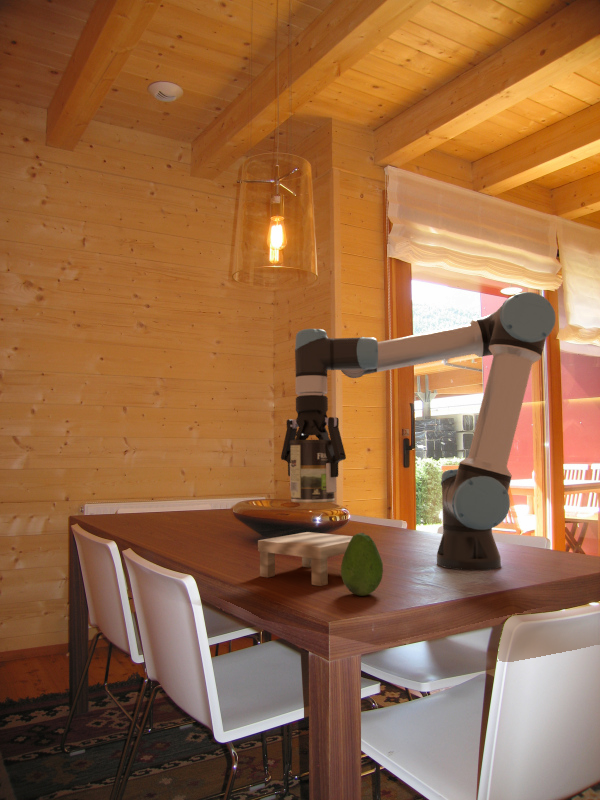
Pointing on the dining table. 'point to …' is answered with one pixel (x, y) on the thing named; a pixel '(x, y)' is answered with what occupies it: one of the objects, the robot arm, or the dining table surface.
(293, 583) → the dining table surface
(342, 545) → the footstool
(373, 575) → the fruit
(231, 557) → the dining table surface
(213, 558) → the dining table surface
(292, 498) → the coffee can
